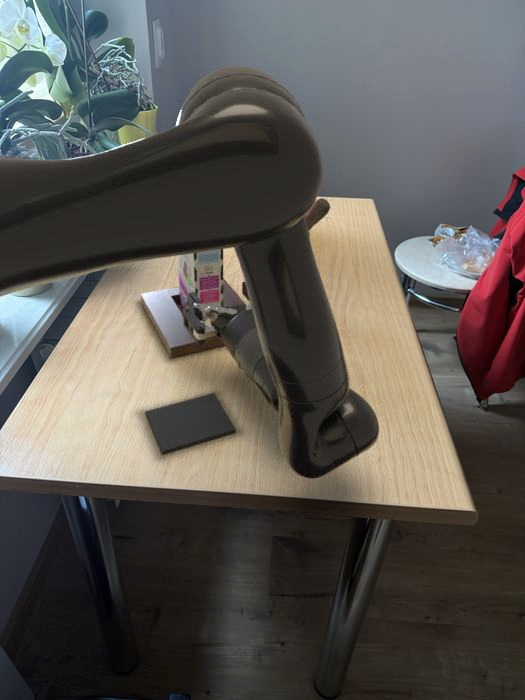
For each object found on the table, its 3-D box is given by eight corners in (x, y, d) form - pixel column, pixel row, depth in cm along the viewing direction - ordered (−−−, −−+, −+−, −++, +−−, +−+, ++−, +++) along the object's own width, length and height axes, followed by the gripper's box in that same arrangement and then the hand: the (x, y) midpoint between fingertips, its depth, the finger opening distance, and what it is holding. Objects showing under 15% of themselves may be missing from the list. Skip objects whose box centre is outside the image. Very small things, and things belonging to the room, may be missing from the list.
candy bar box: (225, 332, 89) (224, 241, 80) (197, 337, 88) (192, 246, 78) (206, 300, 98) (203, 214, 88) (179, 304, 96) (173, 218, 86)
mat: (162, 454, 67) (161, 451, 66) (145, 414, 72) (145, 411, 72) (235, 432, 70) (235, 429, 70) (214, 395, 76) (214, 392, 76)
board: (171, 358, 83) (170, 347, 82) (141, 303, 96) (140, 293, 95) (263, 336, 89) (263, 326, 88) (223, 287, 102) (223, 278, 101)
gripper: (313, 314, 69) (261, 261, 80) (210, 338, 64) (170, 278, 75) (309, 360, 73) (260, 303, 85) (212, 386, 68) (174, 322, 80)
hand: (218, 291), depth 80 cm, fingers open, 8 cm apart
